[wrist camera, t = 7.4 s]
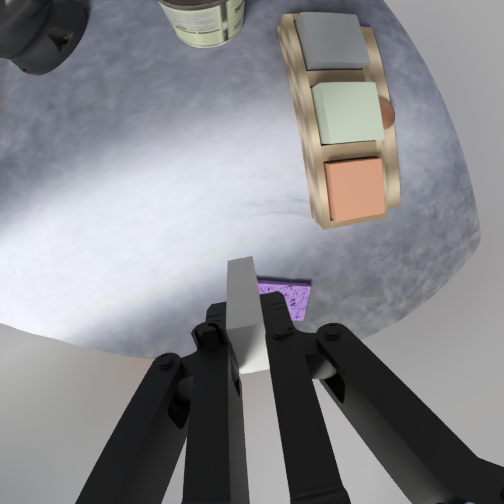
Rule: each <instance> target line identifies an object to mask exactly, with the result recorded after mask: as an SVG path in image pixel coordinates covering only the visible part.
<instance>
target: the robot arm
mask: <svg viewBox="0 0 504 504" xmlns="http://www.w3.org/2000/svg"><path fill="white" fill-rule="evenodd" d="M86 23H87V13H86V10H85V9H84V7H83V6H82V5H80V4H79V3H77V2H76V1H74V0H0V58H6V59H10V60H11V61H12V62H13V63H14V64H15V65H17V66H18V67H19V68H20V69H21V70H22V71H23V72H25V73H28V74H32V75H42V74H45V73H48V72H50V71H52V70H53V69H55V68H56V67H58V66H59V65H60V64H61V63H62V62H63V61H64V60H65V59H66V58H67V57H68V56H69V55H70V54H71V53H72V51H73V50H74V49H75V47H76V46H77V44H78V43H79V41H80V39H81V37H82V35H83V33H84V30H85V27H86ZM191 334H192V337H193V339H194V342H195V344H196V346H197V351H196V352H194V353H193V354H191V355H188V356H185V357H183V358H180V356H179V355H177V354H175V353H165V354H162V355H160V356H159V357H157V358H156V359H155V360H154V361H153V363H152V365H151V367H150V368H149V370H148V371H147V373H146V375H145V377H144V378H143V380H142V382H141V383H140V385H139V387H138V389H137V390H136V392H135V394H134V396H133V397H132V399H131V401H130V403H129V405H128V406H127V408H126V410H125V411H124V413H123V415H122V417H121V419H120V420H119V422H118V424H117V426H116V428H115V429H114V431H113V433H112V435H111V437H110V439H109V440H108V442H107V444H106V446H105V447H104V449H103V451H102V453H101V455H100V457H99V459H98V461H97V462H96V464H95V466H94V468H93V470H92V472H91V474H90V476H89V478H88V480H87V481H86V483H85V485H84V487H83V489H82V491H81V493H80V495H79V497H78V499H77V501H76V503H75V504H161V503H162V500H163V497H164V495H165V492H166V490H167V487H168V485H169V482H170V479H171V477H172V474H173V471H174V469H175V466H176V464H177V461H178V458H179V456H180V453H181V451H182V448H183V445H184V443H185V440H186V437H187V444H186V456H185V457H186V458H185V470H184V484H183V499H182V503H181V504H250V502H249V489H248V477H247V463H246V450H245V449H246V448H245V434H244V418H243V402H242V384H241V380H240V377H239V370H240V373H241V374H244V373H250V372H256V371H262V370H267V369H270V373H271V379H272V385H273V392H274V398H275V404H276V411H277V417H278V423H279V429H280V435H281V442H282V448H283V455H284V461H285V467H286V474H287V480H288V486H289V492H290V503H291V504H351V502H350V499H349V496H348V493H347V491H346V489H345V488H344V487H343V484H342V481H341V478H340V474H339V471H338V467H337V463H336V460H335V456H334V453H333V449H332V446H331V442H330V439H329V435H328V432H327V429H326V425H325V422H324V418H323V415H322V412H321V408H320V405H319V401H318V398H317V395H316V392H315V388H314V385H313V381H312V379H319V380H320V382H321V384H322V385H323V386H324V388H325V389H326V390H327V392H328V393H329V395H330V396H331V397H332V399H333V400H334V402H335V403H336V404H337V406H338V407H339V408H340V409H341V411H342V412H343V414H344V415H345V416H346V418H347V419H348V421H349V422H350V423H351V425H352V426H353V427H354V428H355V430H356V431H357V433H358V434H359V435H360V437H361V438H362V439H363V441H364V442H365V443H366V445H367V446H368V447H369V449H370V450H371V451H372V453H373V454H374V455H375V457H376V458H377V459H378V461H379V462H380V463H381V465H382V466H383V467H384V469H385V470H386V471H387V472H388V474H389V475H390V476H391V478H392V479H393V480H394V481H395V483H396V484H397V485H398V487H399V488H400V489H401V490H402V492H403V493H404V494H405V496H406V497H407V498H408V499H409V500H410V501H411V502H412V504H504V467H502V466H499V465H496V464H494V463H491V462H488V461H486V460H483V459H481V458H478V457H477V456H476V455H475V454H474V453H473V452H472V451H471V450H470V449H469V448H468V447H467V446H466V445H465V444H464V443H463V442H462V441H461V440H460V439H459V438H458V437H457V436H456V435H455V434H454V433H453V432H452V431H451V430H450V429H449V428H448V427H447V426H446V425H445V424H444V423H443V422H442V421H441V420H440V419H439V418H438V417H437V416H436V415H435V414H434V413H433V412H432V411H431V410H430V409H429V408H428V407H427V406H426V405H425V404H424V403H423V402H422V401H421V400H420V399H419V398H418V397H417V396H416V395H415V394H414V393H413V392H412V391H411V390H410V389H409V388H408V387H407V386H406V385H405V384H404V383H403V382H402V381H401V380H400V379H399V378H398V377H397V376H396V375H395V374H394V373H393V372H392V371H391V370H390V369H389V368H388V367H387V366H386V365H385V364H384V363H383V362H382V361H381V360H380V359H379V358H378V357H377V356H376V355H375V354H374V353H373V352H372V351H371V350H370V349H369V348H368V347H367V346H365V345H364V344H363V343H362V342H361V341H360V340H359V339H358V338H357V337H356V336H355V335H354V334H353V333H352V332H351V331H350V330H349V329H348V328H347V327H346V326H344V325H342V324H339V323H329V324H325V325H323V326H321V327H320V328H319V329H318V330H317V333H305V332H301V331H299V330H297V329H296V328H295V327H294V325H293V322H292V319H291V316H290V313H289V310H288V307H287V303H286V300H285V297H284V295H283V294H282V293H280V292H279V291H275V292H270V293H265V294H260V291H259V286H258V281H257V276H256V271H255V267H254V262H253V257H252V256H251V257H246V258H241V259H236V260H231V261H228V272H227V302H221V303H216V304H211V306H210V307H209V308H208V310H207V314H206V321H205V322H204V323H201V324H199V325H197V326H196V327H195V328H194V329H193V330H192V333H191Z"/></svg>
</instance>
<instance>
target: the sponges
mask: <svg viewBox="0 0 504 504" xmlns="http://www.w3.org/2000/svg"><path fill="white" fill-rule="evenodd" d="M257 281H258V286H259V291H260V294H265V293H270V292H275V291H279V292H280V293H282V294H283V295H284V297H285V300H286V303H287V307H288V310H289V313H290V316H291V319H292V320H303V318H304V314H305V310H306V306H307V302H308V297H309V294H310V289H311V286H310V285H309V284H308V283H295V282H281V281H276V282H275V281H268V280H257Z"/></svg>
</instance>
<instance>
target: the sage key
mask: <svg viewBox="0 0 504 504" xmlns="http://www.w3.org/2000/svg"><path fill="white" fill-rule="evenodd" d="M310 90H311V95H312V100H313V105H314V110H315V115H316V121H317V126H318V132H319V138H320V144H335V143H345V142H356V141H368V140H384V139H385V137H384V129H383V123H382V116H381V110H380V104H379V99H378V94H377V89H376V84H375V82H328V83H319V84H317V85H315V86H314V87H312V88H311V89H310Z"/></svg>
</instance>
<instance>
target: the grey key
mask: <svg viewBox="0 0 504 504" xmlns="http://www.w3.org/2000/svg"><path fill="white" fill-rule="evenodd" d="M294 25H295V29H296V32H297V36H298V40H299V43H300V47H301V51H302V55H303V59H304V63H305V68H306V71H321V70H358V69H360V68H362V67H365V66H367V65H369V64H371V62H370V58H369V55H368V51H367V47H366V44H365V40H364V37H363V34H362V30H361V27H360V24H359V21H358V18H357V15H354V14H343V13H327V12H301V13H300V14H299V16H298V18H297V20H296V21H295V23H294Z"/></svg>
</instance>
